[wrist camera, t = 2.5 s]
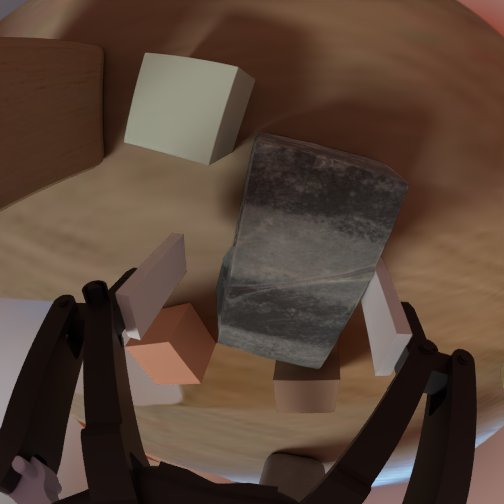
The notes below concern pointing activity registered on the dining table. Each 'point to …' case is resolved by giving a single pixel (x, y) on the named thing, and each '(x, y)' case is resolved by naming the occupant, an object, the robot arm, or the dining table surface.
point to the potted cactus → (502, 375)
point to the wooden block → (48, 113)
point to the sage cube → (188, 107)
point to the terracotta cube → (174, 347)
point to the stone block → (303, 247)
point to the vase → (292, 474)
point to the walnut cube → (307, 386)
